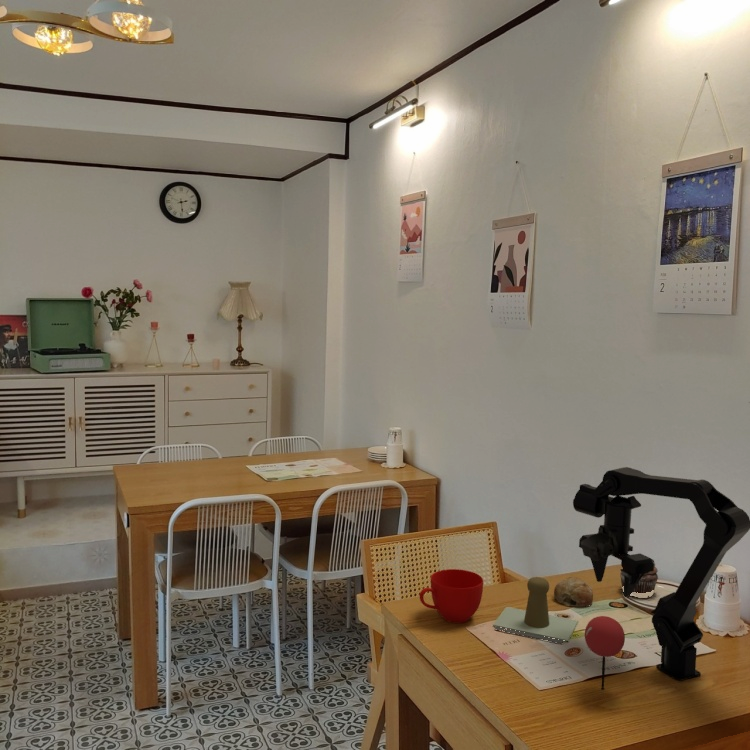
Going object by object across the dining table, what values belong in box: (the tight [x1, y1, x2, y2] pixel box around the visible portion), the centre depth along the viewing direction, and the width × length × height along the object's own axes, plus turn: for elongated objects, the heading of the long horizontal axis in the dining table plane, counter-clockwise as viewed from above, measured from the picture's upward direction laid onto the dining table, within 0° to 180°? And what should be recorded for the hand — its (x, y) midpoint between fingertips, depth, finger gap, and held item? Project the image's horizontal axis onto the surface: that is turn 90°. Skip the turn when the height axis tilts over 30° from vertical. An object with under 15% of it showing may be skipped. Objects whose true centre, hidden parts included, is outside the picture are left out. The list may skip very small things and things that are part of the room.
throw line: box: [494, 627, 564, 644], centre depth 176 cm, size 16×2×1 cm, turn 64°
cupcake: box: [619, 558, 659, 593], centre depth 203 cm, size 10×10×10 cm
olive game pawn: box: [524, 576, 550, 628], centre depth 182 cm, size 6×6×11 cm
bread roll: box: [553, 576, 594, 608], centre depth 197 cm, size 10×10×8 cm
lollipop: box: [584, 615, 626, 690], centre depth 152 cm, size 8×8×15 cm
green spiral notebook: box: [492, 606, 579, 642], centre depth 182 cm, size 18×12×1 cm, turn 64°
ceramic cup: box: [419, 568, 484, 624], centre depth 184 cm, size 13×17×10 cm
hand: (612, 588), depth 172 cm, fingers open, 9 cm apart
